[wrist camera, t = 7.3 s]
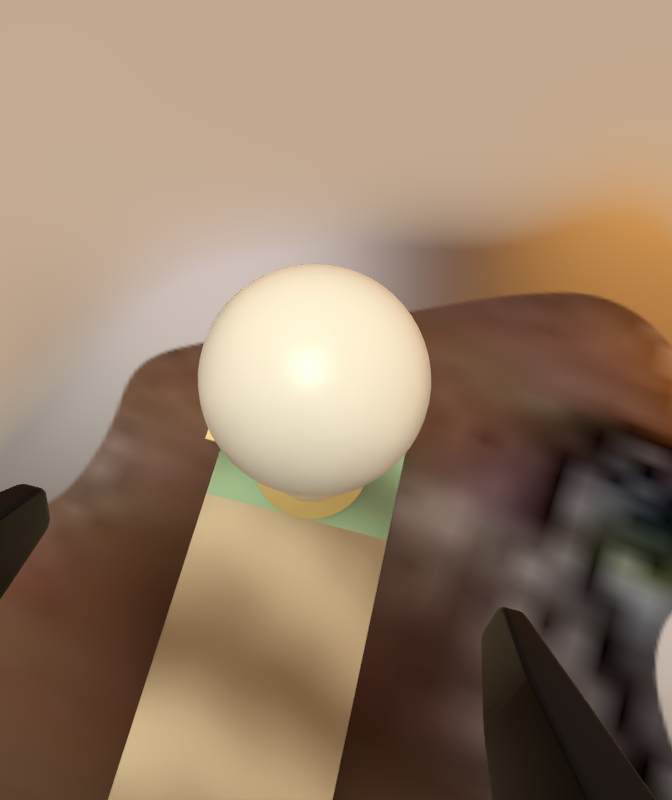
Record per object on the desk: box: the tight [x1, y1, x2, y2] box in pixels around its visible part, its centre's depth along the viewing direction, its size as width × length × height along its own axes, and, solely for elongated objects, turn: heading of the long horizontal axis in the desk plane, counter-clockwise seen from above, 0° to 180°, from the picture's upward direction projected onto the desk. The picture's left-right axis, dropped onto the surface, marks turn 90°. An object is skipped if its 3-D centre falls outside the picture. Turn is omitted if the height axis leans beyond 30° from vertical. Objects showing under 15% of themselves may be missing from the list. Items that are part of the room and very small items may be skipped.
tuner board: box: [108, 449, 405, 800], centre depth 18 cm, size 18×8×1 cm, turn 166°
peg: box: [198, 264, 431, 519], centre depth 12 cm, size 5×7×14 cm
